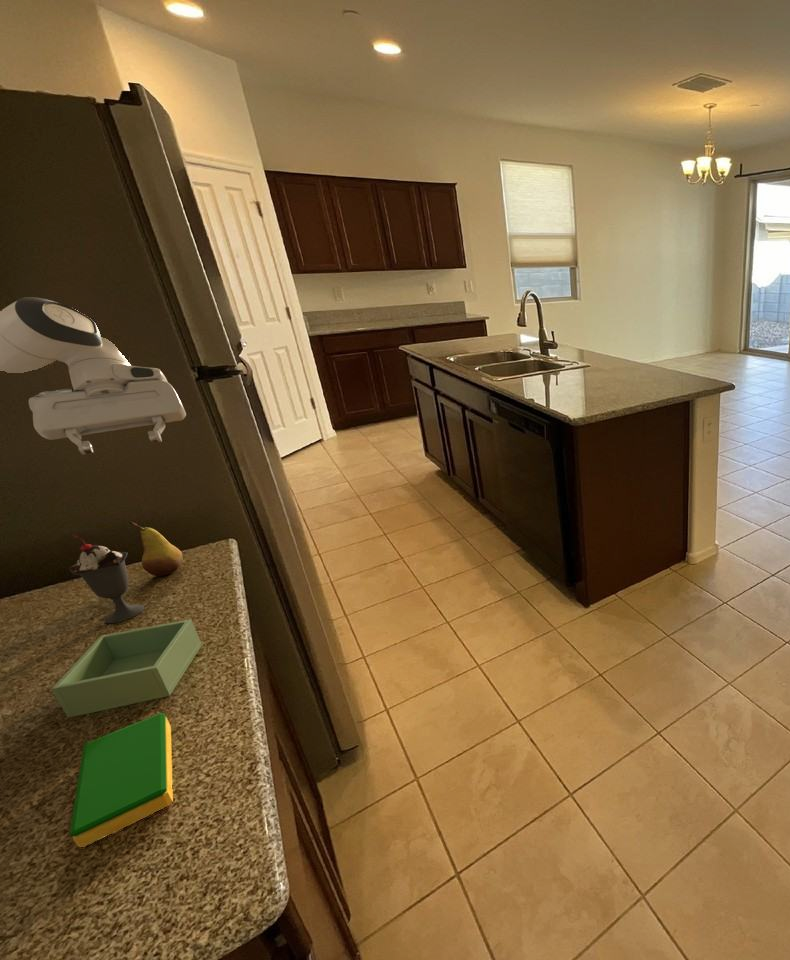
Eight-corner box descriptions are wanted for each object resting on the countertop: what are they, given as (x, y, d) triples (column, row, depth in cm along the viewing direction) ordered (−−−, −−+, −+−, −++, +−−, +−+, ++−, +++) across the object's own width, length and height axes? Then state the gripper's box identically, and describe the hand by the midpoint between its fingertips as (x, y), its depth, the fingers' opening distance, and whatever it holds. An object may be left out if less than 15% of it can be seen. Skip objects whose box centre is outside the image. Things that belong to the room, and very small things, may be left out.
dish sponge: (171, 725, 65) (164, 710, 64) (173, 805, 55) (165, 789, 54) (92, 758, 61) (83, 743, 60) (79, 852, 51) (68, 835, 50)
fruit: (191, 570, 98) (168, 513, 93) (151, 584, 94) (125, 525, 89) (183, 561, 101) (160, 505, 97) (144, 574, 97) (118, 516, 92)
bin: (67, 718, 66) (50, 689, 64) (114, 662, 75) (100, 635, 74) (170, 695, 69) (156, 667, 67) (202, 644, 79) (191, 618, 77)
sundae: (100, 611, 87) (60, 532, 81) (153, 597, 90) (118, 520, 84) (92, 632, 82) (49, 549, 76) (148, 616, 85) (111, 536, 79)
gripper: (17, 383, 90) (32, 450, 87) (170, 367, 102) (187, 426, 99) (35, 404, 95) (49, 468, 92) (178, 386, 107) (195, 443, 104)
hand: (122, 446), depth 95 cm, fingers open, 8 cm apart
